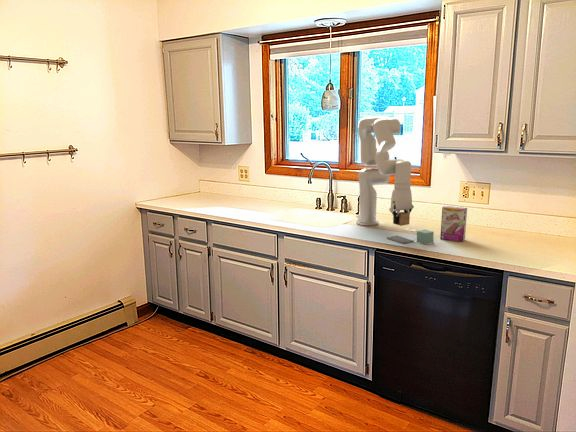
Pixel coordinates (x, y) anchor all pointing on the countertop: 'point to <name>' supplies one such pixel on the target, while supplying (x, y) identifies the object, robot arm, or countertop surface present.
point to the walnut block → (403, 218)
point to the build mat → (400, 239)
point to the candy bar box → (453, 223)
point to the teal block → (425, 236)
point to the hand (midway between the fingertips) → (401, 222)
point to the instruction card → (410, 229)
